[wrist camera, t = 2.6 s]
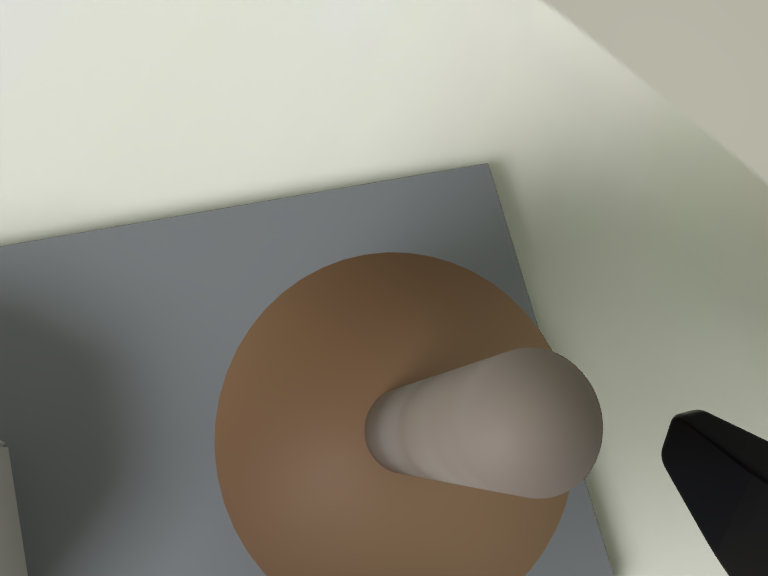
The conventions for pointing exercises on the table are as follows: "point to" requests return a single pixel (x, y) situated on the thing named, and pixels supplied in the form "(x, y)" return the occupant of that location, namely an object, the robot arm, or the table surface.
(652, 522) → the table surface
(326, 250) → the tool board
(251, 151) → the table surface
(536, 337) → the brown tall cylinder
